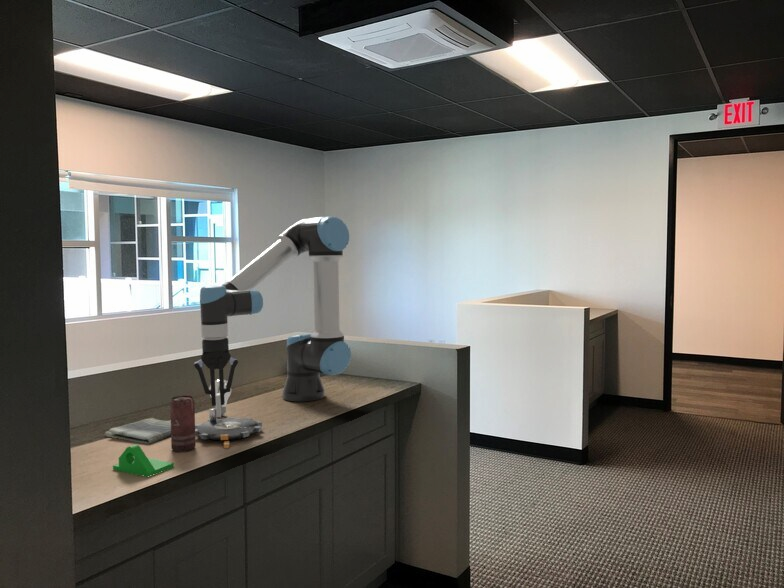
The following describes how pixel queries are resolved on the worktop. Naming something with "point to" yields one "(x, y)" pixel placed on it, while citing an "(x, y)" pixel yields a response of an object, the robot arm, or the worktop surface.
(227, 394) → the light bulb
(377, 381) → the worktop surface
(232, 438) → the sprocket base
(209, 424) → the sprocket
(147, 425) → the dish towel
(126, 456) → the bracket
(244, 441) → the worktop surface
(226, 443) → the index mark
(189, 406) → the can
